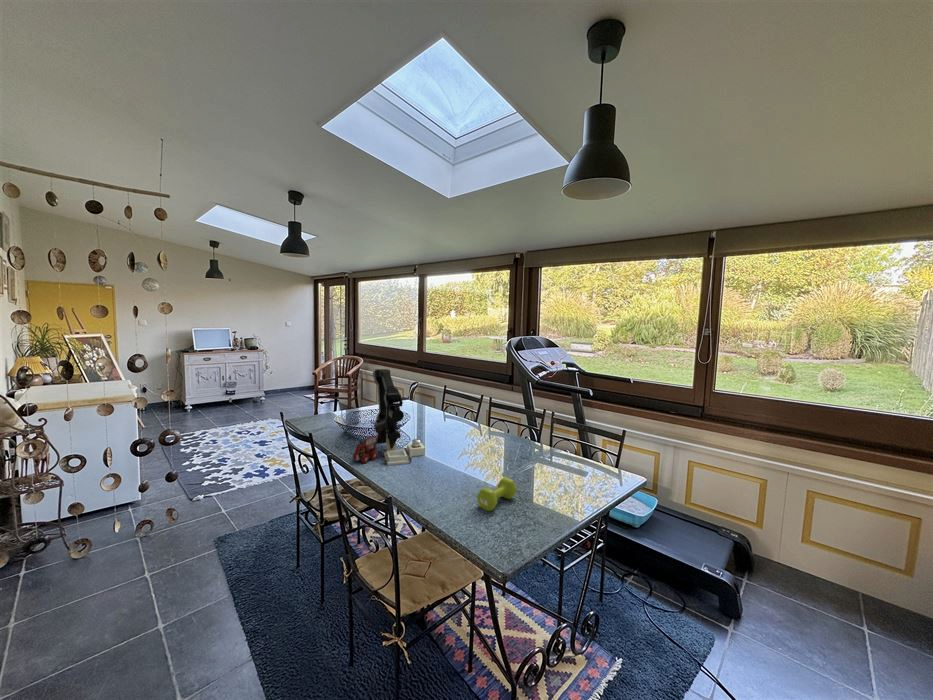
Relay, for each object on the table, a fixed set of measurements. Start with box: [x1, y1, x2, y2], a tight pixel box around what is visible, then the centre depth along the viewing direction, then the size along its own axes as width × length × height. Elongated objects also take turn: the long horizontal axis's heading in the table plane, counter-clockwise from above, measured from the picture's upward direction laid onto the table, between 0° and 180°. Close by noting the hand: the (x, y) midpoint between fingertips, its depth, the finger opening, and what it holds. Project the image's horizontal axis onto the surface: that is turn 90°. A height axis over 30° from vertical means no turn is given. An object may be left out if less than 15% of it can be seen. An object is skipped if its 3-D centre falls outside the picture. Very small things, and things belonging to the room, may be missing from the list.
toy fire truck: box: [352, 435, 379, 464], centre depth 164 cm, size 7×12×10 cm, turn 147°
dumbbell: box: [476, 476, 517, 512], centre depth 131 cm, size 16×8×7 cm, turn 138°
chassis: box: [381, 447, 413, 466], centre depth 168 cm, size 14×12×3 cm
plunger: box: [411, 438, 421, 448], centre depth 176 cm, size 4×4×4 cm
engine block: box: [385, 437, 397, 451], centre depth 177 cm, size 4×4×7 cm
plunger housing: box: [406, 442, 426, 457], centre depth 176 cm, size 7×7×4 cm
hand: (390, 446), depth 178 cm, fingers closed on engine block, 4 cm apart
